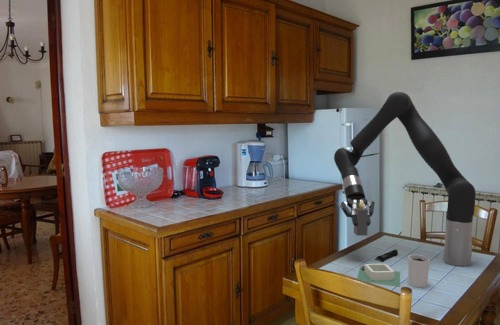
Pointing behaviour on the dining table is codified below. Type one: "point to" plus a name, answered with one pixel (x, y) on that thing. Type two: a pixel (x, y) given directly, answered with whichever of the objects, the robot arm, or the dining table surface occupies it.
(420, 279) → the grey cup
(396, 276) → the circuit board
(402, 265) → the dining table surface
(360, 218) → the plug
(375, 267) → the socket
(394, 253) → the electric trimmer
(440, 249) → the dining table surface
